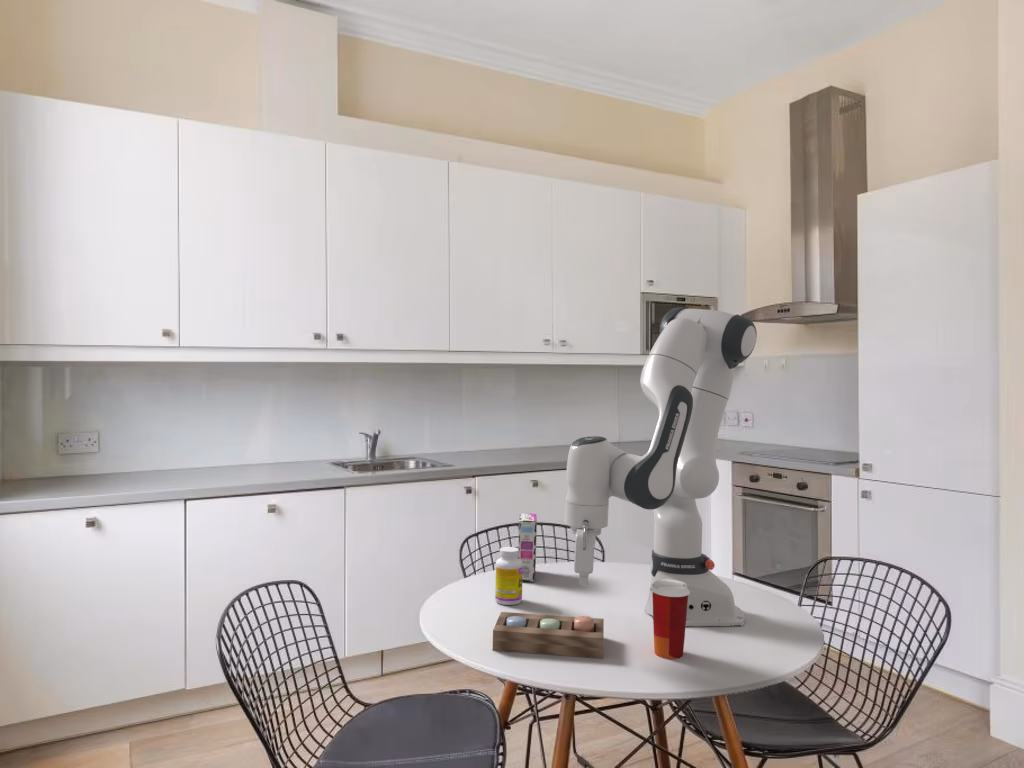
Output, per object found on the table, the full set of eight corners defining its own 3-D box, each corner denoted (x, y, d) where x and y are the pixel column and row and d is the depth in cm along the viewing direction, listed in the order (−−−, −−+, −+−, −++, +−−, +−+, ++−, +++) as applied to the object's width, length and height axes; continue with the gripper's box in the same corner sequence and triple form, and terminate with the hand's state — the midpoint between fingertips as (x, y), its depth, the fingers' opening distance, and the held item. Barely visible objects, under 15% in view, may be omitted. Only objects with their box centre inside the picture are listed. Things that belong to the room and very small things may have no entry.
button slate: (526, 628, 145) (526, 616, 145) (524, 635, 141) (524, 623, 141) (507, 627, 145) (508, 615, 145) (505, 634, 141) (505, 622, 141)
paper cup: (687, 648, 141) (689, 580, 141) (688, 663, 134) (690, 591, 133) (649, 644, 143) (650, 577, 143) (647, 658, 135) (649, 588, 135)
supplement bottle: (521, 606, 164) (523, 553, 164) (494, 605, 165) (495, 552, 164) (522, 597, 171) (523, 546, 171) (495, 596, 171) (496, 545, 171)
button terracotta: (593, 628, 143) (594, 616, 143) (593, 635, 139) (593, 623, 139) (574, 627, 143) (574, 615, 143) (573, 634, 139) (573, 622, 139)
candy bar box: (535, 582, 184) (537, 521, 183) (517, 582, 184) (518, 520, 184) (535, 570, 195) (536, 513, 195) (517, 570, 195) (519, 512, 195)
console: (603, 637, 146) (603, 618, 146) (603, 658, 135) (603, 638, 135) (500, 630, 149) (501, 611, 149) (492, 650, 138) (492, 630, 138)
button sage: (559, 631, 144) (560, 619, 144) (558, 638, 140) (558, 626, 140) (540, 629, 144) (541, 617, 144) (539, 636, 140) (539, 624, 140)
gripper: (601, 528, 130) (599, 600, 130) (601, 508, 150) (599, 571, 150) (568, 525, 131) (565, 598, 131) (572, 506, 151) (570, 569, 151)
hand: (583, 583), depth 141 cm, fingers closed
